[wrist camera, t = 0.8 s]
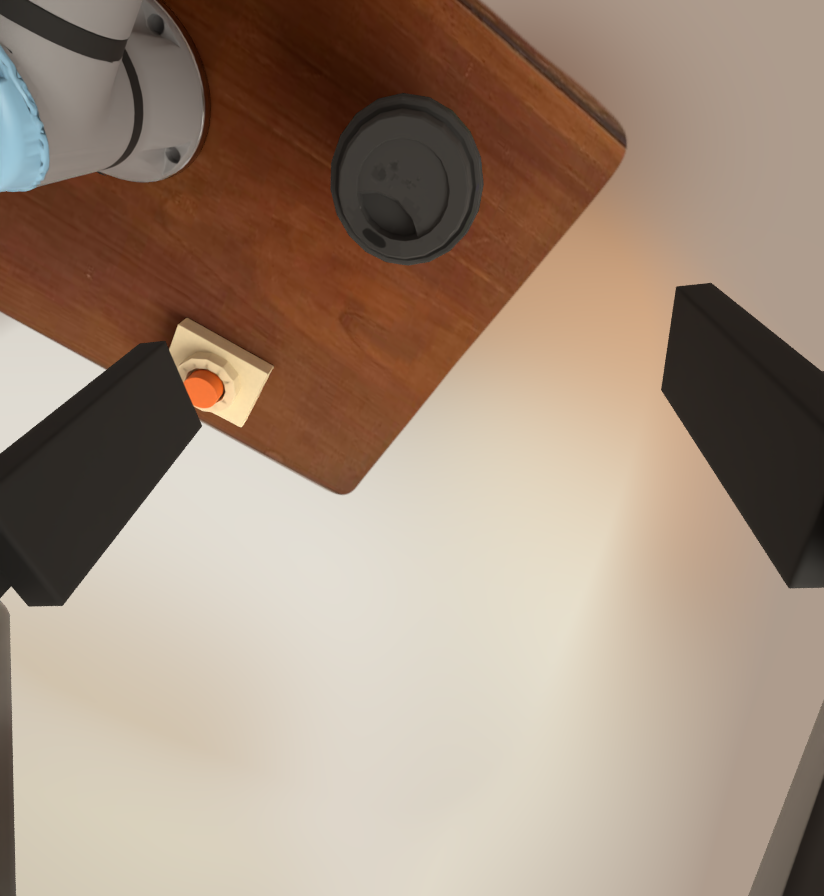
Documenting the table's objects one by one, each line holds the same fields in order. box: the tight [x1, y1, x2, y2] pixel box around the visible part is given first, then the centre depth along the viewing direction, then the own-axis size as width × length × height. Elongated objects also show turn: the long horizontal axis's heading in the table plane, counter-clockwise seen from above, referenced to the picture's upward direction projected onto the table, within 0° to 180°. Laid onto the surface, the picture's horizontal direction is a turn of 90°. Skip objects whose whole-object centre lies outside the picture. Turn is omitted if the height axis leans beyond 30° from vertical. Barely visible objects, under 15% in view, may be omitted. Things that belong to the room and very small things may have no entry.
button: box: [183, 369, 223, 408], centre depth 59 cm, size 4×4×2 cm
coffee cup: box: [331, 93, 484, 265], centre depth 42 cm, size 11×11×15 cm
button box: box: [169, 318, 274, 427], centre depth 61 cm, size 11×9×4 cm
